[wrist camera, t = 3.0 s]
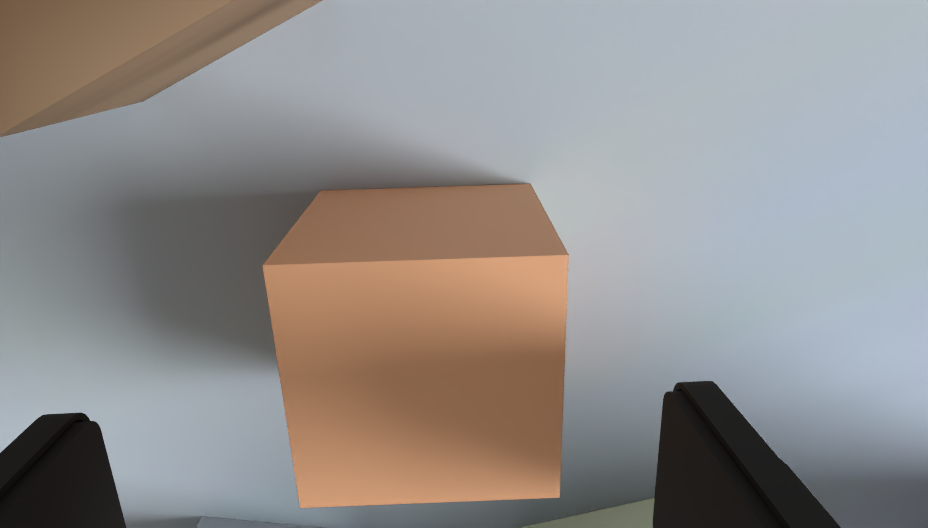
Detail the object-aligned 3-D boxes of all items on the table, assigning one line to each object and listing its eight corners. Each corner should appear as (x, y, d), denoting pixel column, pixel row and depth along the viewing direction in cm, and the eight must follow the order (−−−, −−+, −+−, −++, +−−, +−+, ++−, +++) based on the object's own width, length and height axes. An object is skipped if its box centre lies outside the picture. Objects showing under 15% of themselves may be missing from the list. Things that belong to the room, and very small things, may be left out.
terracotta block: (321, 189, 15) (262, 265, 10) (530, 183, 15) (568, 255, 10) (341, 371, 16) (299, 507, 12) (527, 365, 17) (559, 497, 12)
